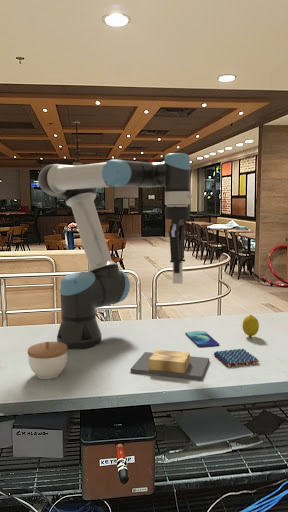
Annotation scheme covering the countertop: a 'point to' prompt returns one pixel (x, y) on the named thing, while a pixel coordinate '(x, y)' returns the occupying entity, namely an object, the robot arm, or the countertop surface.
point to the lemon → (250, 325)
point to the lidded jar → (47, 359)
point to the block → (169, 361)
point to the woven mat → (236, 357)
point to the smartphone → (201, 339)
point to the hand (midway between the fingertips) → (177, 283)
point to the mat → (192, 372)
